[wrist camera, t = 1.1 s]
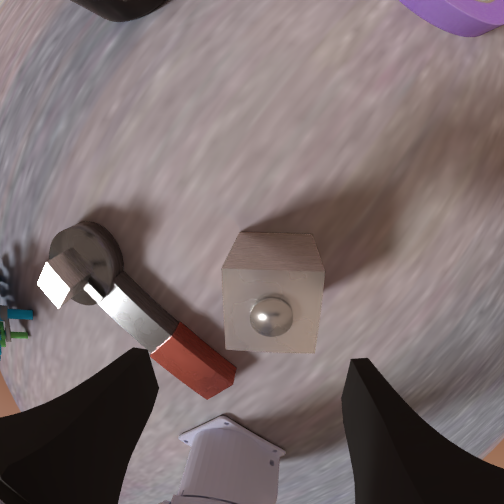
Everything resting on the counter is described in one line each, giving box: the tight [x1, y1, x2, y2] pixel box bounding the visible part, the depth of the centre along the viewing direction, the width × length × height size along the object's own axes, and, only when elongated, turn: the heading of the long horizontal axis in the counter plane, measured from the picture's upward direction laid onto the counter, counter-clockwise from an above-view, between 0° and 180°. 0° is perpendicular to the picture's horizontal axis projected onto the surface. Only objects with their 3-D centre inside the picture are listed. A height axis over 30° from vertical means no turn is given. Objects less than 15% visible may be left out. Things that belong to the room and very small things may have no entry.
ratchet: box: [37, 221, 236, 400], centre depth 19 cm, size 18×6×5 cm, turn 45°
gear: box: [0, 305, 33, 359], centre depth 21 cm, size 11×6×10 cm
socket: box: [221, 232, 325, 353], centre depth 16 cm, size 5×5×6 cm
